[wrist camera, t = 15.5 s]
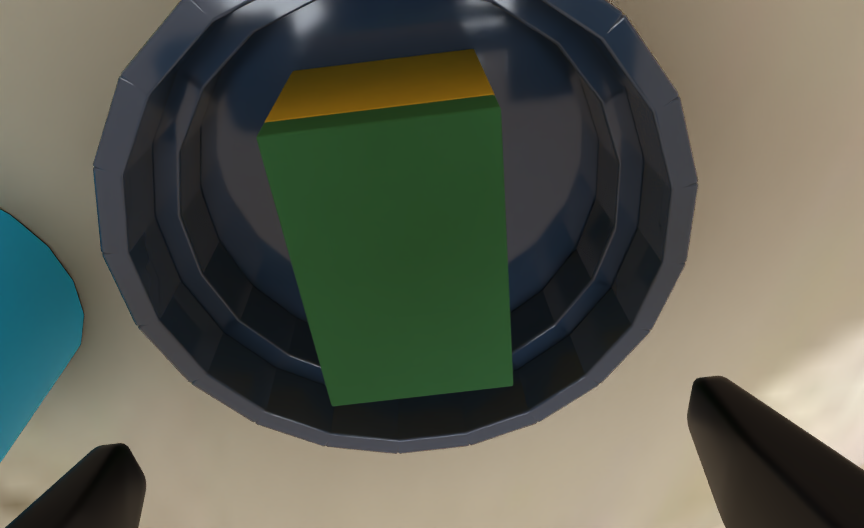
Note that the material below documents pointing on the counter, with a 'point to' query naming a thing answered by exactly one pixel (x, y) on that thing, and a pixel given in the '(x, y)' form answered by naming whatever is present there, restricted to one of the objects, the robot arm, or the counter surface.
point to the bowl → (524, 202)
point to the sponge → (396, 223)
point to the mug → (32, 325)
